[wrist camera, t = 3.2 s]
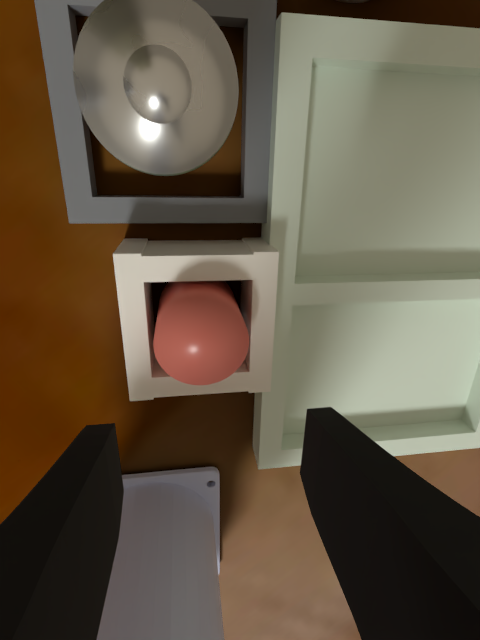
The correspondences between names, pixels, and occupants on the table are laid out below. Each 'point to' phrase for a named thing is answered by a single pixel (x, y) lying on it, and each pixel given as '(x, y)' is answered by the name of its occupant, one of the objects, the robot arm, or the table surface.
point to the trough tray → (374, 234)
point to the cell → (156, 83)
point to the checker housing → (195, 265)
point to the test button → (199, 332)
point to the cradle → (74, 136)
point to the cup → (353, 1)
